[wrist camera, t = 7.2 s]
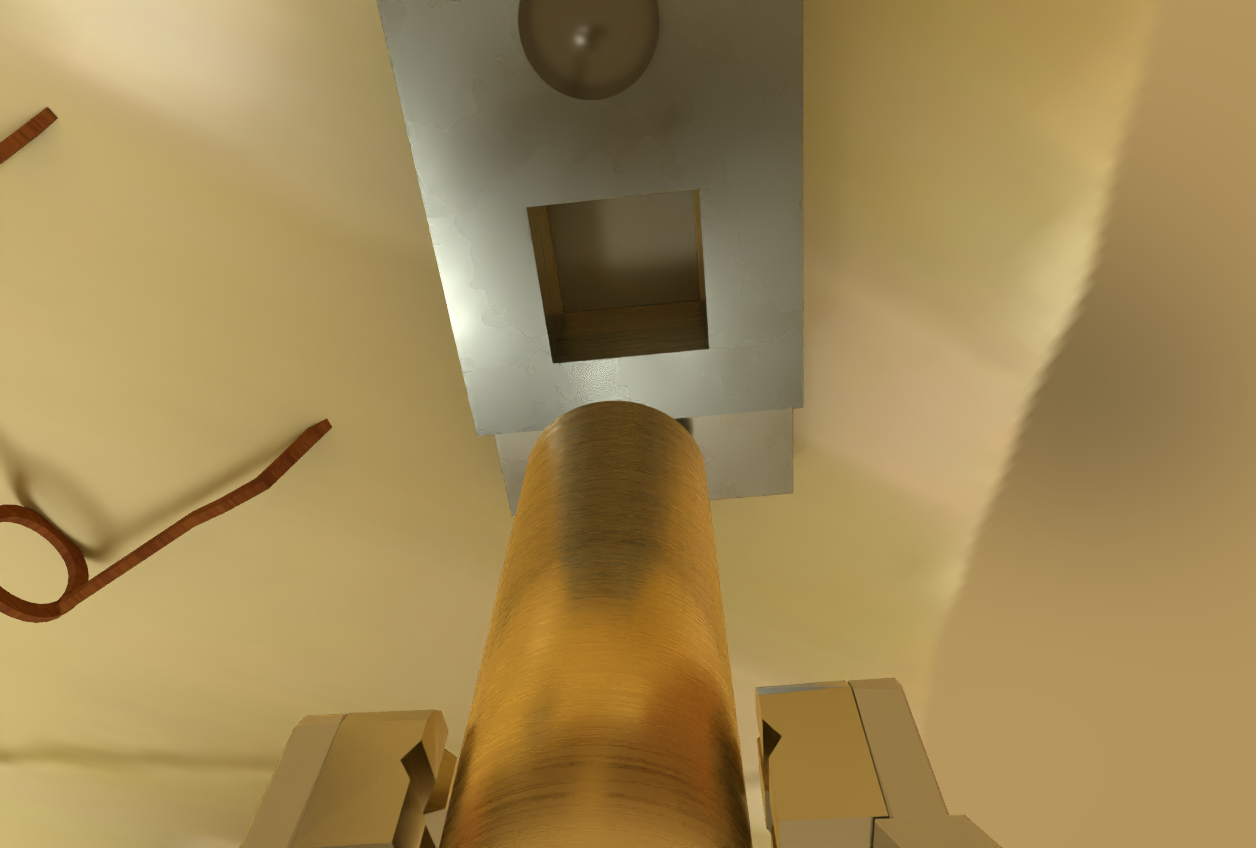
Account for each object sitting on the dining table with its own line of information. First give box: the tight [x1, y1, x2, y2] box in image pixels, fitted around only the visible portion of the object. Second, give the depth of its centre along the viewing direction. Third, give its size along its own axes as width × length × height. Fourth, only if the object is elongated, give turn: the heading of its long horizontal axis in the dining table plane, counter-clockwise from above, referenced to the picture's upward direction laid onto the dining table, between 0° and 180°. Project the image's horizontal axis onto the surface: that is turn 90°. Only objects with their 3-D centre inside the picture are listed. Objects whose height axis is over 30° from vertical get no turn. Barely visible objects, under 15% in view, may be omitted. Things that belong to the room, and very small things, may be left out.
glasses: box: [0, 108, 332, 623], centre depth 27 cm, size 13×13×5 cm
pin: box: [439, 401, 753, 848], centre depth 9 cm, size 4×4×11 cm
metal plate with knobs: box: [377, 0, 803, 516], centre depth 24 cm, size 18×10×5 cm, turn 6°
